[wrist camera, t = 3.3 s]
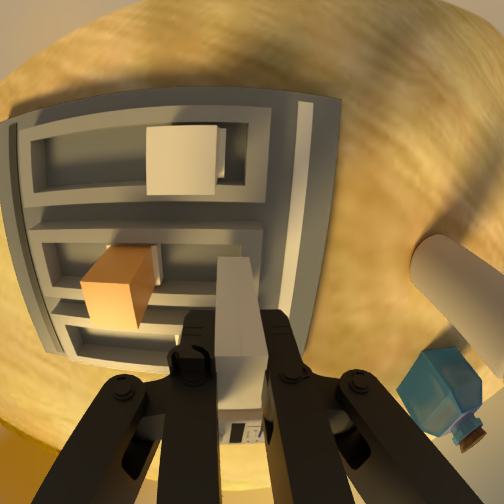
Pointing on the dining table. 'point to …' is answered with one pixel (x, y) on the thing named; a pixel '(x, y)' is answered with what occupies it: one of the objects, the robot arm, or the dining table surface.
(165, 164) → the block
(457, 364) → the perfume bottle
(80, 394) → the dining table surface
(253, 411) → the electronic device
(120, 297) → the block
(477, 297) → the beverage can
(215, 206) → the panel
